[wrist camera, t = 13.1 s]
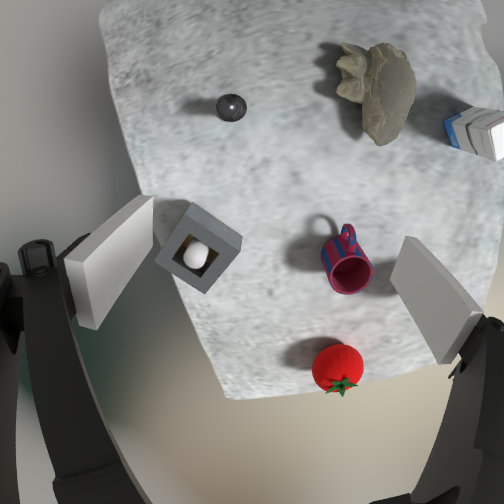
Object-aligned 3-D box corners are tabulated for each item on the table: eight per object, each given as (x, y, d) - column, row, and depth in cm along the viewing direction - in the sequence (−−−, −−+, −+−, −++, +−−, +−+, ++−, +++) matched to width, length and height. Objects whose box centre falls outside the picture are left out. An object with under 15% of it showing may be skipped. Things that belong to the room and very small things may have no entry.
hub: (183, 212, 44) (169, 231, 37) (228, 218, 44) (222, 239, 38) (181, 252, 47) (169, 276, 41) (223, 258, 48) (217, 284, 41)
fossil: (377, 64, 35) (327, 42, 31) (429, 56, 26) (380, 23, 22) (373, 148, 40) (321, 135, 36) (428, 153, 31) (378, 136, 27)
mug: (318, 270, 48) (325, 294, 42) (326, 214, 43) (336, 231, 37) (355, 272, 48) (367, 294, 42) (366, 217, 43) (382, 234, 37)
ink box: (451, 148, 37) (496, 164, 27) (441, 120, 35) (487, 129, 25) (482, 131, 35) (527, 144, 24) (474, 105, 33) (520, 112, 22)
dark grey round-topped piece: (219, 93, 36) (212, 89, 30) (248, 96, 36) (246, 93, 30) (216, 120, 38) (208, 121, 32) (244, 123, 38) (241, 125, 32)
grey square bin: (192, 201, 42) (184, 213, 37) (242, 236, 44) (240, 251, 40) (163, 246, 45) (153, 261, 41) (209, 276, 47) (204, 294, 43)
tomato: (362, 356, 58) (373, 392, 49) (318, 373, 60) (324, 409, 51) (351, 326, 54) (363, 364, 45) (302, 345, 56) (307, 384, 47)
